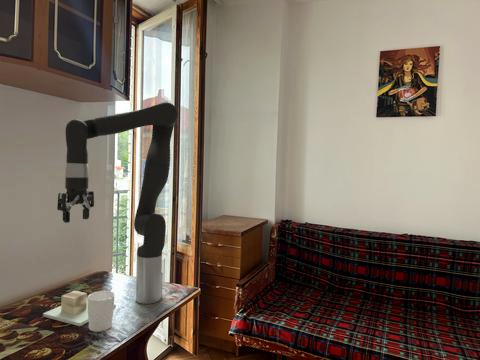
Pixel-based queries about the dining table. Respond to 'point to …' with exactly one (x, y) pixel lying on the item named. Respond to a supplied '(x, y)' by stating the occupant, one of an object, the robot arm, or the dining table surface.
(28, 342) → the dining table surface
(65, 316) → the sage board
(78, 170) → the robot arm
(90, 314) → the white cup
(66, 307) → the beech cube
